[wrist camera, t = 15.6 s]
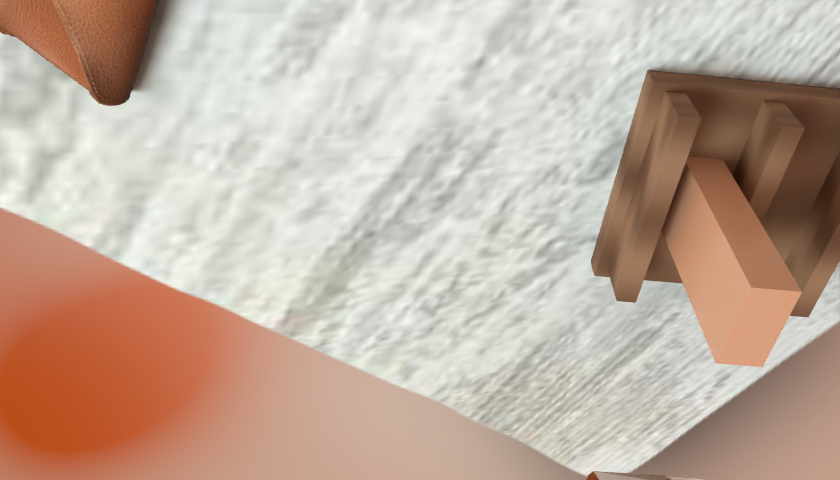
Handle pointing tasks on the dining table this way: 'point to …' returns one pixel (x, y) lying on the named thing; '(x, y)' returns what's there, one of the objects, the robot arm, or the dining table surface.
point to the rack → (747, 162)
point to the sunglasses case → (85, 39)
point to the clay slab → (728, 264)
